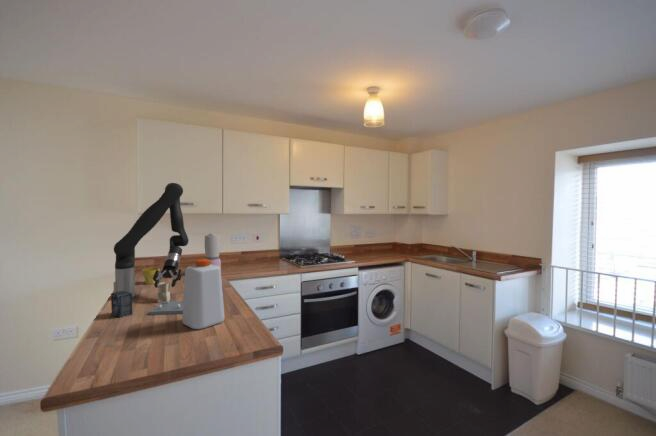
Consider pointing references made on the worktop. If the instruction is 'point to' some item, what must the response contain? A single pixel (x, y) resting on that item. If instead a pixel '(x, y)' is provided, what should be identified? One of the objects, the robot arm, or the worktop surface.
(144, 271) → the plant pot
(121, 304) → the box
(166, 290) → the birch block
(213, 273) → the plastic bottle
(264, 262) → the worktop surface
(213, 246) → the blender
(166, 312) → the locating plate
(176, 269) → the robot arm
